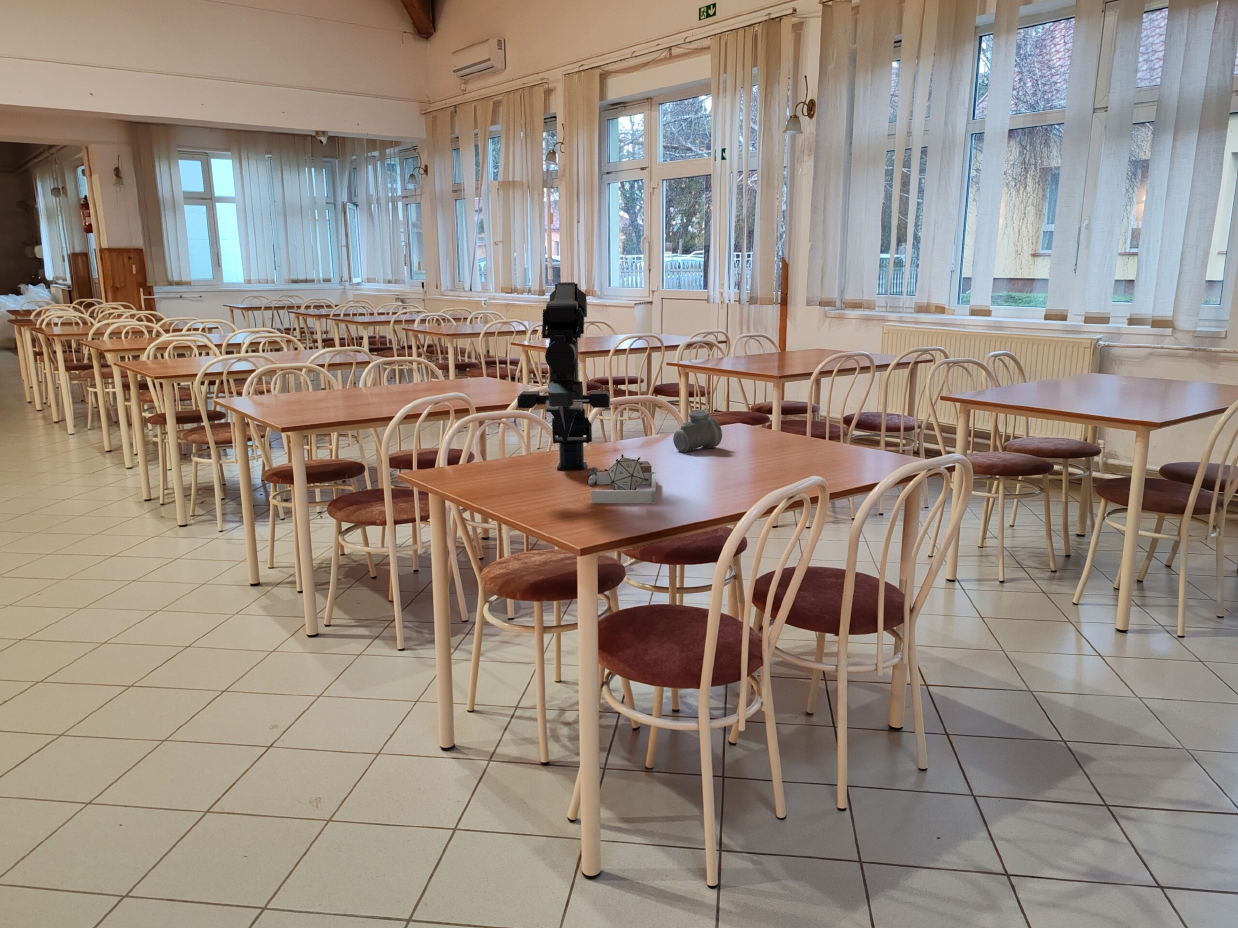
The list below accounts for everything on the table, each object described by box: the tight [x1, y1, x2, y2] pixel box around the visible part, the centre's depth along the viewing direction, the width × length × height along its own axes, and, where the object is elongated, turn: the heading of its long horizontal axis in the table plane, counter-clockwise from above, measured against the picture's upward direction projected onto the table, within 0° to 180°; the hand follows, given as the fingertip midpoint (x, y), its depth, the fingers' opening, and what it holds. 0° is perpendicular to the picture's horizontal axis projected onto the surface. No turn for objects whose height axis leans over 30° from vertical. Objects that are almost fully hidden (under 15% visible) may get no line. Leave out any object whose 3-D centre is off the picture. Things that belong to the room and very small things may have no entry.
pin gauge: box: [587, 466, 601, 487], centre depth 191 cm, size 8×2×2 cm, turn 178°
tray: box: [590, 471, 657, 504], centre depth 181 cm, size 17×13×2 cm
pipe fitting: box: [672, 409, 723, 453], centre depth 224 cm, size 12×8×10 cm
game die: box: [603, 453, 649, 490], centre depth 180 cm, size 9×8×10 cm
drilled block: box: [639, 460, 653, 473], centre depth 191 cm, size 5×5×4 cm
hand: (565, 440), depth 181 cm, fingers closed
